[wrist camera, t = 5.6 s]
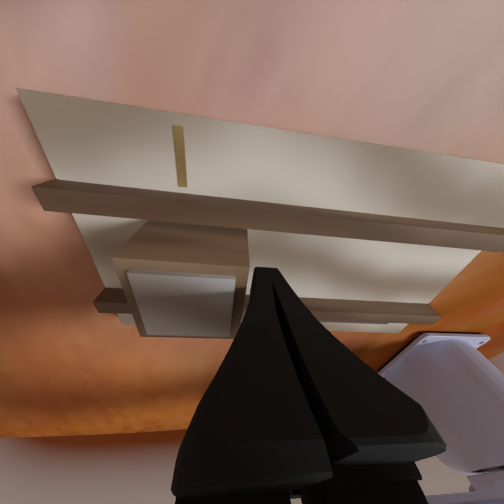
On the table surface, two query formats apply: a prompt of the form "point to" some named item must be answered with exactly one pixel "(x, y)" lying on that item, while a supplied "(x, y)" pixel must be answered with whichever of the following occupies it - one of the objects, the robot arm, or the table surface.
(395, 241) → the birch board
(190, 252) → the block
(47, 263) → the table surface
